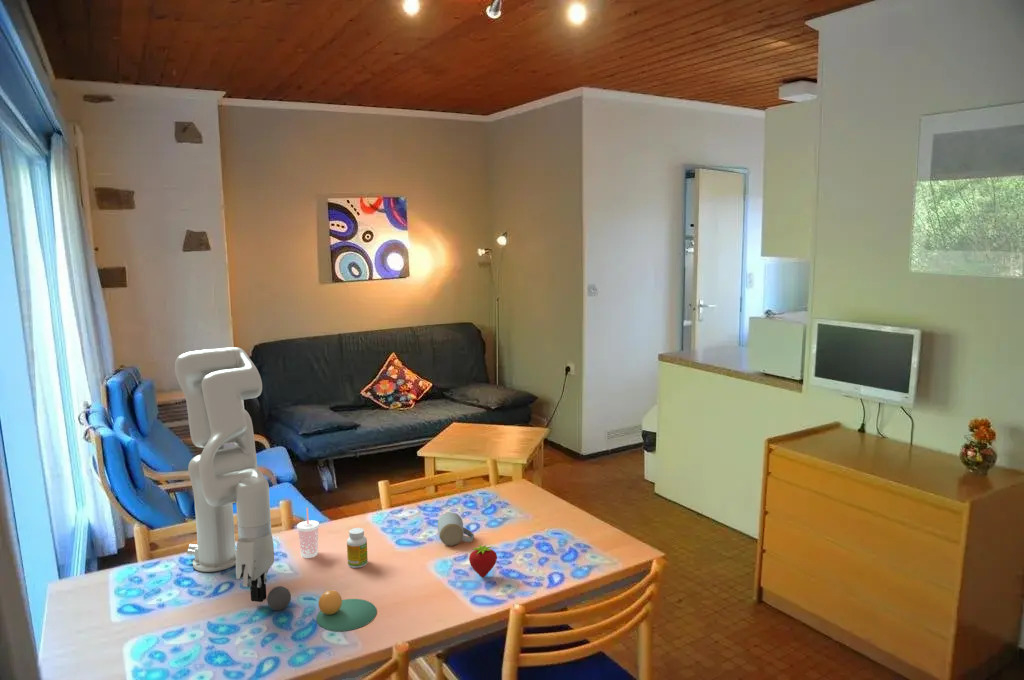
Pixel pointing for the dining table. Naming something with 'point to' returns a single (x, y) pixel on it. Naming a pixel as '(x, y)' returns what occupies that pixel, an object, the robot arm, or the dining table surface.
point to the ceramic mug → (453, 529)
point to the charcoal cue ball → (278, 598)
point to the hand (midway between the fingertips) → (258, 599)
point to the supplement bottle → (357, 548)
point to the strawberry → (482, 560)
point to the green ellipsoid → (348, 616)
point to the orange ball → (330, 602)
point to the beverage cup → (308, 537)
